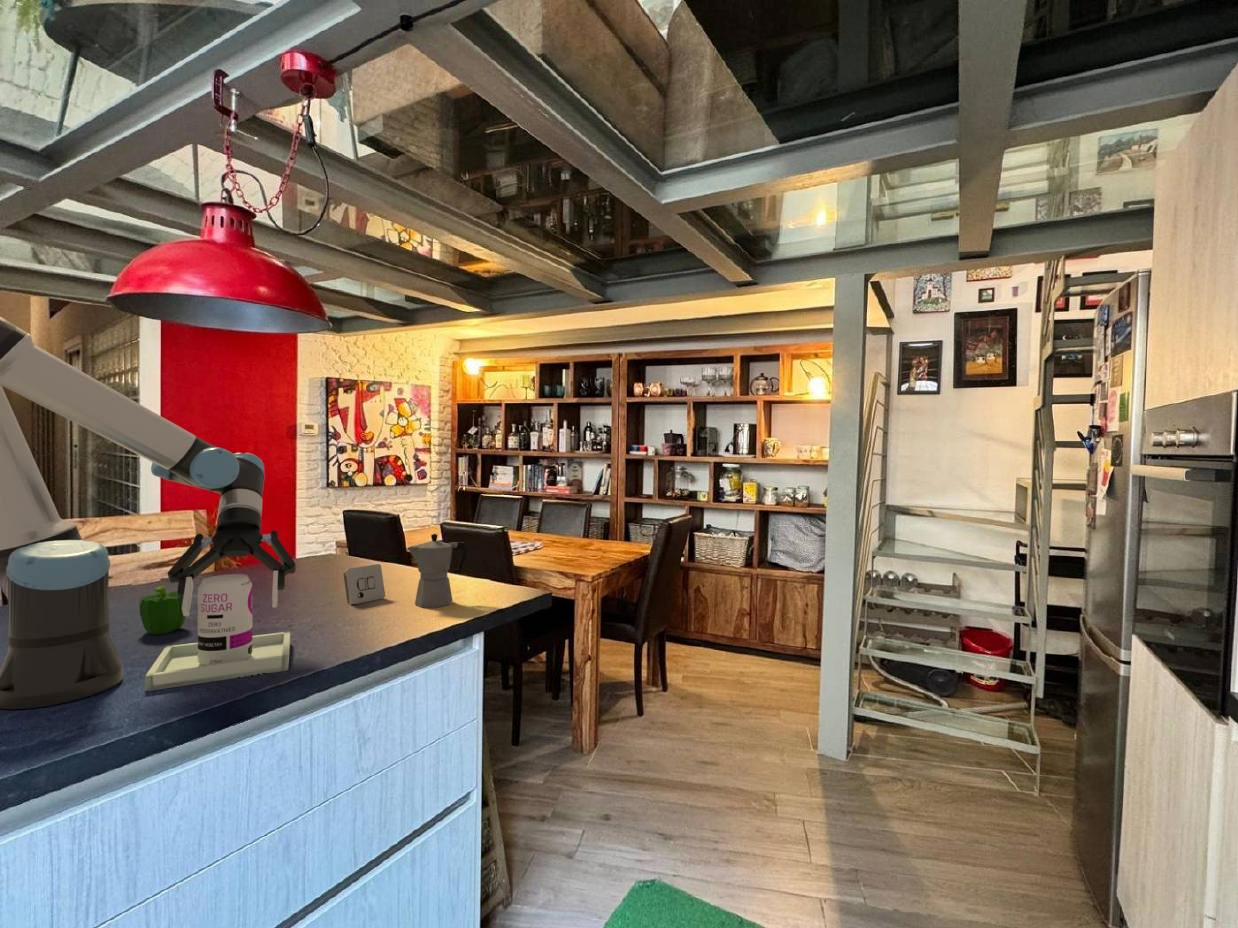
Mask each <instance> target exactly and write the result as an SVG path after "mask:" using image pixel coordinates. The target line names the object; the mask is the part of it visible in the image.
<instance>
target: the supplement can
mask: <svg viewBox="0 0 1238 928" xmlns="http://www.w3.org/2000/svg"><path fill="white" fill-rule="evenodd" d="M252 636H253V583H252V581H251V580H250V578H249V575H248V574H243V573H242V574H241V573H234V574H233V573H232V574H231V573H230V574H221V575H220V574H219V575H215V576H214V575H212V576H209V577H205V578H203V579H201V583H200V584H199V586H198V588H197V643H198V663H201V664H202V666H209V665H216V664H223V663H231V662H238V661H245V660H246V659H247V658H248V657H249V656H250V655H251V654H252Z"/></svg>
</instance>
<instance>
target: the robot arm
mask: <svg viewBox="0 0 1238 928" xmlns="http://www.w3.org/2000/svg"><path fill="white" fill-rule="evenodd" d="M4 388H6V389H7V390H10V391H12V392H13V393H16V394H18V395H19V396H22V397H23V398H25V399H27V400H29V401H31V402H33V403H35V404H37V405H39V406H41V407H43V408H45V409H47V410H49V411H51V412H53V413H55V414H57V415H59V416H61V417H63V418H65V419H67V420H69V421H71V422H73V423H75V424H77V425H78V426H81V427H82V428H84V429H87V430H89V431H91V432H93V433H95V434H96V435H98V436H101V437H102V438H104V439H106V440H108V441H111V442H112V443H114V444H116V445H117V446H120V447H121V448H122V447H123V448H124V449H126V450H128V451H130V452H131V453H134V454H135V455H138V456H140V457H141V458H143V459H146V460H148V461H150V462H151V466H150V472H151V474H152V475H153V476H154V477H156V478H157V477H158V478H161V479H163V480H166V481H168V482H174V483H175V482H176V483H178V484H182V485H186V486H190V487H192V488H193V487H194V488H196V489H197V488H198V489H202V490H206V491H209V492H213V493H217V494H220V496H219V502H218V511H217V513H218V514H217V519H216V526H215V527H216V528H215V534H214V535H212V536H204V535H203V534H202V533H197V534H196V535H195V536H194V538H193V542H192V544H191V545H190V546H189V547H188V548H187V549H186V550H185V552H184V553H183V554H182V555H181V556H180V558H179V559H178V560H177V561H176V562H175V563H174V565H172V566H171V568H169V570H168V571H167V577H168V581H169V582H170V583H173V584H174V583H178V585H177V594H178V597H179V599H181V598H183V603H182V612H183V615H184V616H186V617H190V613H191V611H190V610H191V604H192V599H193V590H194V580H195V579H196V578H197V577H198V576H199V575H201V574H202V573H203V572H204V571H206V570H207V569H208V568H210V567H211V566H212V565H213V564H214V563H215V562H219V561H221V559H223V558H224V557H227V558H234V557H235V558H236V557H242V558H243V557H247V556H248V555H250V556H251V557H252V558H254V559H256V560H258V561H259V562H261V563H262V564H263V565H264V566H266V567H267V568H268V569H269V570H270V571H272V573H273V574H272V575H273V577H272V591H271V592H272V594H271V601H272V602H271V603H272V608H273V609H274V608H278V601H279V600H278V597H279V596H278V595H279V594H278V593H279V591H282V590H284V589H285V587H286V584H285V583H286V576H287V575H289V574H292V575H293V574H295V573H296V568H297V567H296V562H295V560H293V558H292V557H291V555H290V554H289V552H288V550H287V549H286V548H285V546H284V545H283V544H282V541H280V540H279V535H278V531H277V530H275V529H274V530H271V532H270V533H266V534H262V532H261V530H262V515H263V514H262V513H263V512H262V511H263V492H264V484H265V483H264V482H265V479H266V475H265V465H264V462H263V460H262V459H261V458H260V457H258V456H257V455H255V454H253V453H250V452H245V453H243V452H236V453H232V452H231V451H229V450H227V449H225V448H223V447H218V446H214V445H213V444H211V443H210V442H208V441H206V440H204V439H202V438H200V437H198V436H196V435H195V434H193V433H191V432H189V431H187V430H186V429H184V428H182V427H181V426H179V425H177V424H176V423H174V422H172V421H170V420H168V419H167V418H165V417H163V416H161V415H159V414H157V413H156V412H154V411H153V410H150V409H149V408H147V407H145V406H143V405H142V404H140V403H139V402H137V401H135V400H133V399H131V398H129V397H127V396H126V395H124V394H123V393H121V392H119V391H117V390H115V389H114V388H112V387H110V386H109V385H107V384H104V383H103V382H101V381H100V380H97V379H96V378H94V377H92V376H90V375H89V374H87V373H85V372H84V371H81V370H80V369H78V368H77V367H74V366H73V365H71V364H69V363H68V362H66V361H64V360H62V359H61V358H58V357H57V356H55V355H53V354H52V353H50V352H48V351H47V350H45V349H43V348H41V347H39V346H38V345H36V344H35V343H34V341H33V338H32V335H31V333H29V332H28V331H25V330H24V329H22V328H19V326H17V325H15V324H13V323H11V322H10V321H8V320H7V319H6V318H4V317H2V316H1V315H0V589H1V591H2V592H3V594H4V596H6V599H7V606H8V607H7V609H8V610H7V611H8V620H7V621H8V651H7V654H6V656H5V658H4V661H3V663H2V666H1V668H0V709H4V710H5V709H6V710H24V709H25V710H26V709H36V708H42V707H49V706H54V705H59V704H63V703H64V704H65V703H68V702H69V703H70V702H74V701H77V700H80V699H83V698H87V697H90V696H94V695H97V694H98V693H102V692H104V691H106V690H108V689H111V688H112V687H114V686H116V685H118V684H119V683H120V682H121V681H122V680H123V678H124V665H123V662H122V660H121V657H120V655H119V654H118V651H117V649H116V647H115V644H114V642H113V640H112V638H111V636H110V605H109V604H110V601H109V600H110V595H109V593H110V592H109V590H110V588H109V587H110V585H109V584H110V583H109V581H110V579H109V578H110V577H109V571H110V567H111V559H110V558H109V551H108V549H107V547H105V545H103V544H102V543H99V542H96V541H91V540H90V541H85V540H84V539H83V538H82V536H81V534H80V531H79V529H78V527H77V525H76V523H74V522H71V521H68V520H65V519H63V518H61V517H60V515H59V512H58V511H57V508H56V505H55V503H54V501H53V499H52V496H51V494H50V492H49V490H48V487H47V486H46V483H45V481H44V478H43V476H42V474H41V472H40V469H39V467H38V465H37V463H36V461H35V458H34V456H33V454H32V451H31V449H30V446H29V445H28V442H27V439H26V438H25V435H24V433H23V431H22V429H21V426H20V424H19V422H18V419H17V417H16V415H15V413H14V411H13V409H12V407H11V404H10V401H9V400H8V397H7V395H6V393H5V391H4ZM263 542H265V543H266V544H267V545H268V546H271V548H272V551H274V553H275V555H277V557H278V559H279V560H280V561H279V560H277V559H276V558H275V557H274V556H273V555H271V554H270V553H269V552H267V550H265V549H264V548H262V546H261V544H262V543H263ZM209 545H212V547H210V549H209V551H207V552H206V553H205V554H203V555H202V556H201V557H200V558H198V557H199V555H200V554H201V553H202V551H203V550H205V549H206V548H207V547H208V546H209ZM197 558H198V559H197ZM194 561H195V562H194Z"/></svg>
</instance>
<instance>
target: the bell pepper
mask: <svg viewBox="0 0 1238 928" xmlns="http://www.w3.org/2000/svg"><path fill="white" fill-rule="evenodd" d="M182 603H183V598H181V599H179V597H178V594H177V591H172V592H170V593H167V590H166V588H165V587H164V586H158V587H156V588H155V592H154V593H152V594H150V595H145V596H142V597H141V598H140V599H139V603H138V604H139V614H140V618H141V619H140V620H141V623H142V625H143V628H144V630H145V631H146V632H147V633H149V634H152V635H164V634H168V633H171V632H173V631H176V630H180V629H182V626H183V625H184V623H185V620H186V617H187V616H184V615H183V612H182Z"/></svg>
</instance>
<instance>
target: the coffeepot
mask: <svg viewBox="0 0 1238 928" xmlns="http://www.w3.org/2000/svg"><path fill="white" fill-rule="evenodd" d="M438 535H439V534H436V533H433V534H430V537H431V541H427V542H423V543H419V544H416V545H411V546H408V547H407V548H406V551H408V552H410V554H411V555H412V557H413V559H414V560H415V562H416V563H417V564H416V565H417V571H418V572H419V574H420V579H419V580H418V584H417V591H416V594H415V595H416V596H415V602H414V605H415V606H417V607H419V608H424V609H433V608H434V609H435V608H441V607H446V606H450V605H451V604H452V602H453V595H452V591H451V590H452V589H451V584H450V583H451V582H450V578H449V577H448V571H449V570H450V567H451V560H452V553H453V551H457V550H462V551H461V554H460V560H459V562H458V568H457V569H453V570H452V572H453V574H461V573H462V572H463V569H464V567H465V565H466V560H467V559H468V556H469V554H470V547H469V546H468V544H466V543H465V542H464V541H457V542H455V541H454V542H453V541H452V542H448V543H447V542H444V541H441V540H440V541H438Z"/></svg>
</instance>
